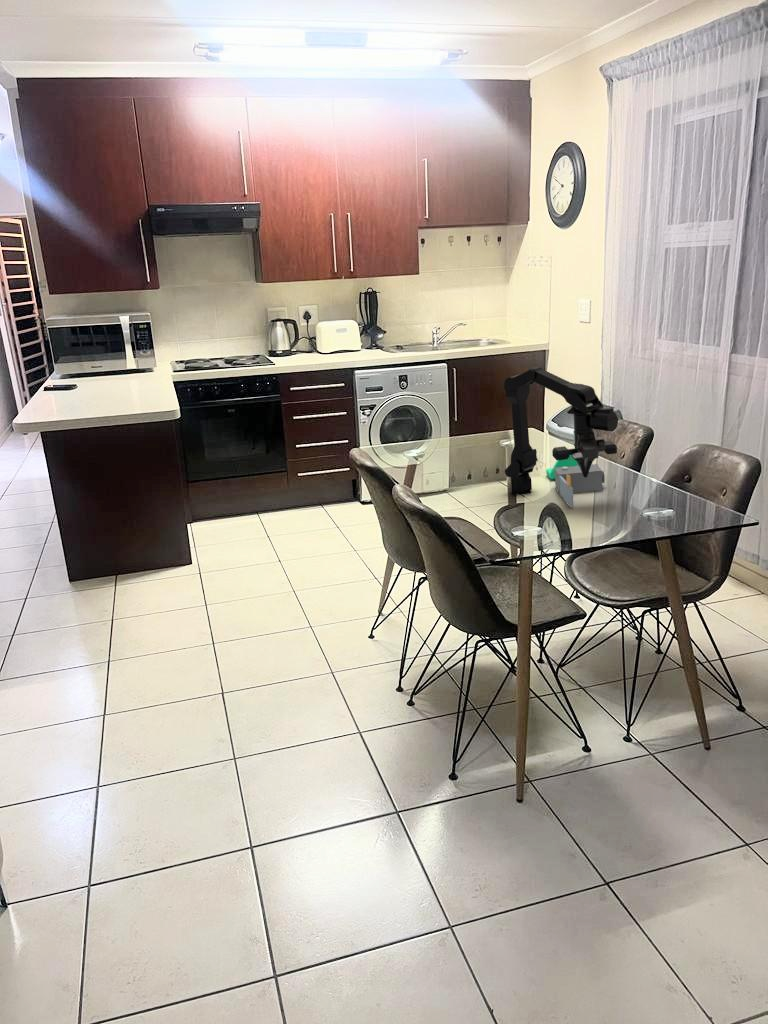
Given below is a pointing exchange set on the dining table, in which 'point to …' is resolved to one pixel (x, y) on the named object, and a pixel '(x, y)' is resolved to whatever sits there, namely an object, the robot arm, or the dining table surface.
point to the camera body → (581, 478)
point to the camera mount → (561, 463)
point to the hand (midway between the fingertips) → (585, 477)
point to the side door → (566, 489)
